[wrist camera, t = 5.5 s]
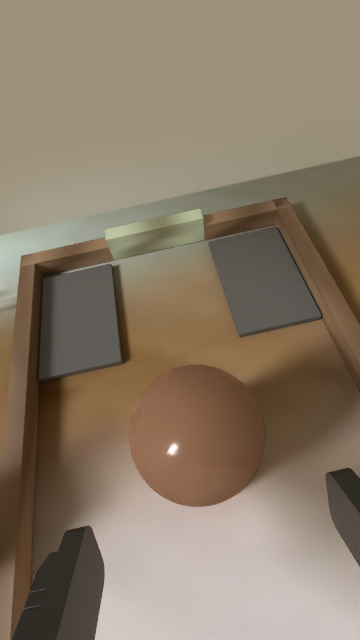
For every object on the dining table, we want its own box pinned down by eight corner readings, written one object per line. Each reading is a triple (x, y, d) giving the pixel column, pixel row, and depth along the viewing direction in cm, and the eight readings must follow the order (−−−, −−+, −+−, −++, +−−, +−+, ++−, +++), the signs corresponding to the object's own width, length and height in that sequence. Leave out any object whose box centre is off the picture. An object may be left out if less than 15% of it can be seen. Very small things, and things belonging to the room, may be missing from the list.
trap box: (-18, 944, 11) (-72, 1044, 9) (31, 268, 28) (16, 249, 26) (602, 797, 11) (688, 864, 9) (282, 212, 28) (287, 189, 26)
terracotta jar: (170, 514, 17) (137, 522, 10) (156, 422, 20) (122, 379, 13) (259, 494, 17) (286, 488, 10) (233, 405, 20) (241, 353, 13)
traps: (42, 381, 22) (38, 379, 22) (46, 282, 27) (43, 278, 26) (319, 319, 22) (321, 315, 22) (275, 231, 27) (276, 226, 26)
